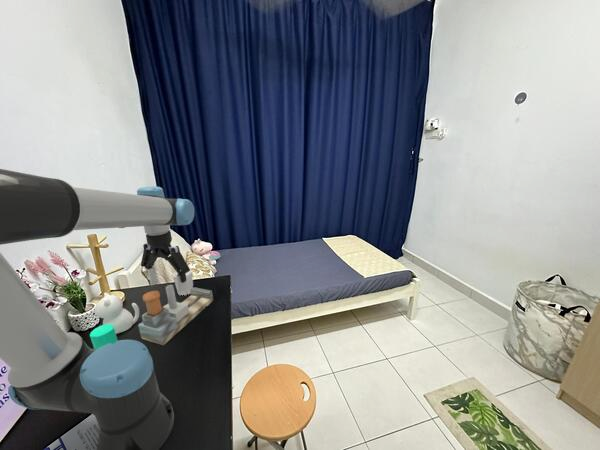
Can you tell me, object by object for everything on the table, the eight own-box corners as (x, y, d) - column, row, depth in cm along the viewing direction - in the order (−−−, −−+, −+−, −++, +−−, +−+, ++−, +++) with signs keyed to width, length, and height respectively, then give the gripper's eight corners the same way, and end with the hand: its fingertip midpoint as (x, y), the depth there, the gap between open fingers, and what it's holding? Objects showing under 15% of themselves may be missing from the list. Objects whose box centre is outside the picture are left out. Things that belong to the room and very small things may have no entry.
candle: (109, 365, 77) (99, 334, 74) (93, 362, 79) (82, 331, 75) (125, 350, 83) (116, 320, 79) (110, 347, 84) (101, 318, 80)
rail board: (163, 345, 85) (157, 321, 82) (141, 338, 88) (135, 315, 85) (213, 300, 109) (210, 280, 106) (194, 296, 112) (191, 277, 109)
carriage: (177, 322, 91) (171, 292, 88) (160, 317, 94) (154, 289, 90) (189, 312, 97) (183, 284, 93) (173, 308, 99) (167, 280, 95)
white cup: (176, 289, 118) (173, 271, 115) (194, 285, 121) (191, 267, 118) (176, 298, 111) (172, 278, 108) (195, 293, 114) (192, 274, 111)
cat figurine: (102, 328, 93) (90, 294, 89) (141, 314, 101) (131, 282, 96) (102, 342, 87) (89, 306, 82) (143, 326, 94) (134, 293, 89)
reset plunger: (154, 318, 84) (150, 300, 81) (143, 315, 85) (139, 297, 83) (166, 309, 88) (162, 292, 86) (155, 306, 90) (151, 289, 87)
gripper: (195, 232, 84) (203, 286, 90) (141, 226, 92) (151, 276, 98) (178, 239, 78) (188, 297, 84) (121, 232, 85) (134, 286, 91)
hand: (168, 286), depth 91 cm, fingers open, 13 cm apart
